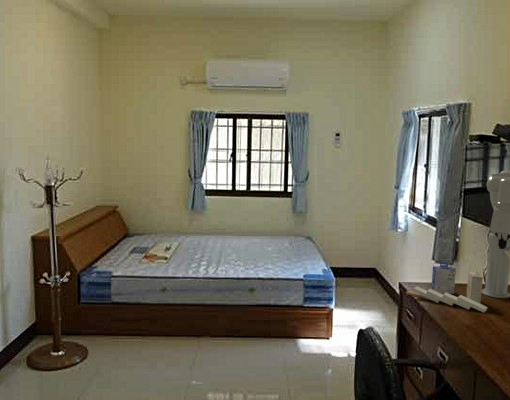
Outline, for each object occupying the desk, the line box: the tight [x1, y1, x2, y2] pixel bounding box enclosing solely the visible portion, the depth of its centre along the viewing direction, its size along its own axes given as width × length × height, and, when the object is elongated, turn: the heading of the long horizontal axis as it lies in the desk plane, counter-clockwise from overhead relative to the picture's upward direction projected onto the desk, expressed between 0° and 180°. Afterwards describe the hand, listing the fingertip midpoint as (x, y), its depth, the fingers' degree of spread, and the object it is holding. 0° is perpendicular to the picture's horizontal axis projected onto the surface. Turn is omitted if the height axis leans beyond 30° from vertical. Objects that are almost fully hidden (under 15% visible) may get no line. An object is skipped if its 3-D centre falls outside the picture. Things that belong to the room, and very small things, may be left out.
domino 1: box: [405, 289, 431, 301], centre depth 243 cm, size 4×2×12 cm
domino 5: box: [457, 294, 489, 313], centre depth 228 cm, size 4×2×12 cm
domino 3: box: [426, 288, 455, 306], centre depth 235 cm, size 4×2×12 cm
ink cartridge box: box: [430, 261, 457, 295], centre depth 250 cm, size 10×6×14 cm, turn 89°
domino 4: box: [442, 292, 472, 310], centre depth 231 cm, size 4×2×12 cm
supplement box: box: [465, 271, 484, 304], centre depth 237 cm, size 8×5×13 cm, turn 168°
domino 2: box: [412, 285, 441, 304], centre depth 238 cm, size 4×2×12 cm
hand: (501, 248), depth 227 cm, fingers closed
